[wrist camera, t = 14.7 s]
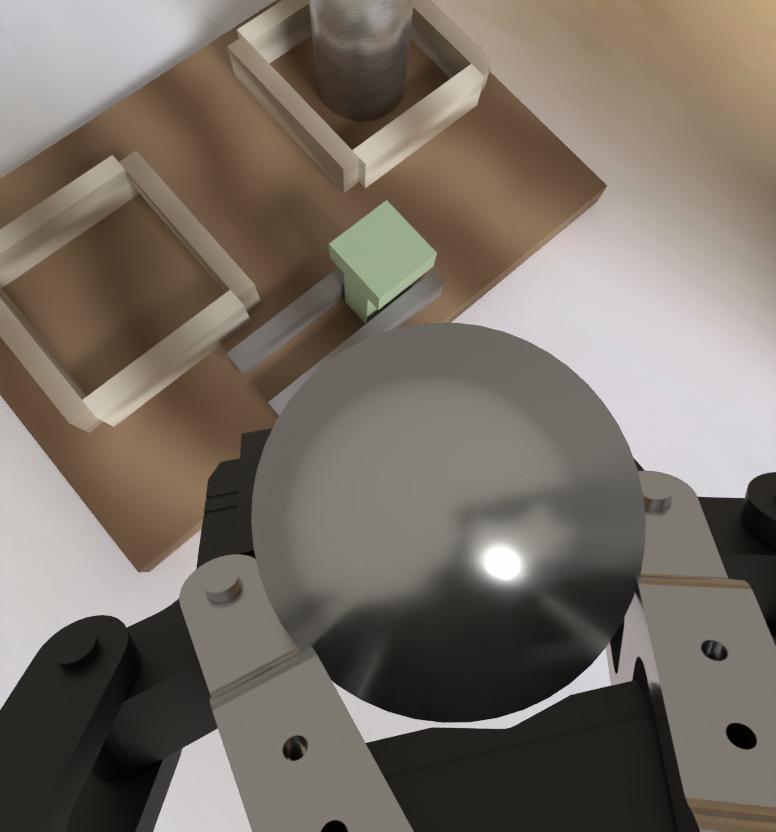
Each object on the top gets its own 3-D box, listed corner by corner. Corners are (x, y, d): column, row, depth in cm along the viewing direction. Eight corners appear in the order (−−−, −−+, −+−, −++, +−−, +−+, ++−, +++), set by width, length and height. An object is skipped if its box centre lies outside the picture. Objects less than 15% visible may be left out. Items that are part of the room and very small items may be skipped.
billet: (408, 418, 18) (459, 251, 8) (523, 545, 17) (727, 525, 8) (279, 529, 17) (167, 490, 7) (395, 667, 16) (438, 824, 7)
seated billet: (365, 30, 34) (368, -182, 24) (423, 88, 33) (451, -106, 24) (297, 77, 33) (272, -125, 23) (355, 138, 32) (355, -43, 23)
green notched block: (382, 253, 31) (386, 200, 26) (424, 299, 30) (436, 252, 26) (332, 291, 30) (328, 243, 26) (375, 338, 30) (379, 298, 25)
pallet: (360, -30, 37) (360, -90, 33) (596, 201, 34) (623, 162, 31) (-90, 265, 31) (-144, 229, 28) (149, 571, 28) (121, 573, 25)
